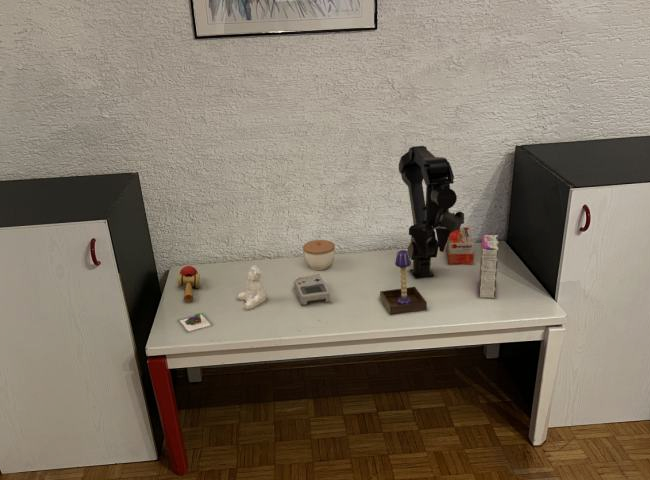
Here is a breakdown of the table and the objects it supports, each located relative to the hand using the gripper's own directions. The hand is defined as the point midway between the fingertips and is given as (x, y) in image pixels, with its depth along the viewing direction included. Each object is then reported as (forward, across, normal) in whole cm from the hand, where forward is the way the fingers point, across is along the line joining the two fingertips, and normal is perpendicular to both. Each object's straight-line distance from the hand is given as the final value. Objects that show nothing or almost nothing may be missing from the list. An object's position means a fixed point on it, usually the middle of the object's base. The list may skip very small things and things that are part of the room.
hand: (433, 254), depth 210 cm
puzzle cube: (+17, -56, +46) cm, 75 cm away
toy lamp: (+14, -10, +4) cm, 17 cm away
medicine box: (+9, +31, +10) cm, 34 cm away
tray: (+14, -10, +4) cm, 18 cm away
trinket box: (+10, -4, +43) cm, 44 cm away
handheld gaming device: (+14, -22, +30) cm, 40 cm away
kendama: (+14, -43, +65) cm, 79 cm away
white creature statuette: (+15, -36, +42) cm, 57 cm away
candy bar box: (+12, +13, -12) cm, 21 cm away
